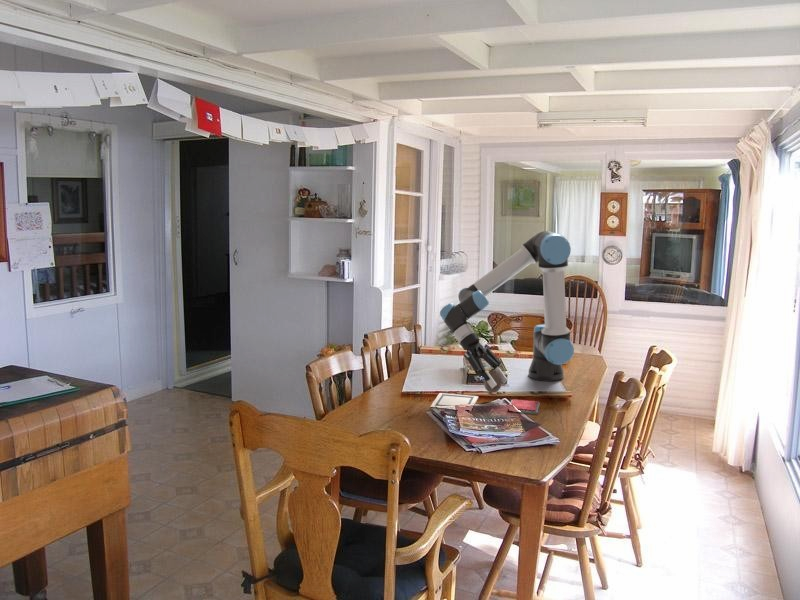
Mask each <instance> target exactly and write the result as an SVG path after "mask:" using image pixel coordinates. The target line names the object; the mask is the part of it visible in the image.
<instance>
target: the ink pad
mask: <svg viewBox="0 0 800 600" xmlns="http://www.w3.org/2000/svg"><path fill="white" fill-rule="evenodd" d="M510 403H511V404H512V405H514V406H515V407H516V408H517V409H518V410H520V411H521V412H523V413H522V414H528V415H529V414H530V415H538V414H539V413H538V412H539V409H540V404H541V403H540V401H535V400H526V399H516V398H515V399H511V400H510Z"/></svg>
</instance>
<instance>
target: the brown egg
mask: <svg viewBox="0 0 800 600" xmlns="http://www.w3.org/2000/svg"><path fill="white" fill-rule="evenodd" d="M488 372H489V374H490V375H491V377H492V378H493V379H494V381H495V382H496V384H497V385H496V386H495V387H494V388H491V387H490V385H489V384H488V382H487V381H486V380H485V379H484V378H483V385H484V388H485V390H486V391H487V392H488V393H497V392H498V391H499V390H501V387H502V382H501V377H500V375H499V374H498V373H497V372H496V370H495V369H494V368H490V369H489V371H488Z"/></svg>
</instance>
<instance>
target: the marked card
mask: <svg viewBox="0 0 800 600" xmlns="http://www.w3.org/2000/svg"><path fill="white" fill-rule="evenodd" d="M478 399H479V396H477V395H470V394H469V395H467V394H458V393H457V394H456V393H447V392H445V393H444V392H439V394H438V395H437V396H436V398H435V399H434V400H433V401H432V404H431V405H430V406H429V408H430V407H435V406H450V405H460V404H475V405H476V403H477V402H478Z"/></svg>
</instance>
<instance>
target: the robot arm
mask: <svg viewBox="0 0 800 600" xmlns="http://www.w3.org/2000/svg"><path fill="white" fill-rule="evenodd" d="M571 251H572V250H571V245H570V242H569V240H568V239H567V238H566V237H565V236H564V235H562V234H560V233H556V232H554V231H552V230H542V231H539V232H538V233H536V234H535V235H533V236H532V237H531V238H530V239H528V240H527V241H526V242H524V243H523V244H521V245H520V249H519V250H517V251H516V252H515V253H513V254H512V255H511V256H509V257H508V258H507V259H505V260H504V261H503V262H501V263H499V264H498V265H497V266H495V268H493V269H491V270H490V271H489V272H488V273H486V274H484V275H483V276H482V277H481V278H479V279H478V280H477V281H475V282H474V283H473V284H471V285H470V286H468V287H463V288H462V289H461V290H460V291H459V292H458V301H459V303H458V304H455V303H453V302H451V303H448V304H446V305H444V306H443V307H442V308H441V309H440V311H439V316H440V317H441V319H442V320H443V322H444V323H445V325H446V326H447V328H448V329H449V331H450V332H451V333H452V335H453V336H454V337H455V339H456V340H457V342H459V344H460V346H461V347H462V349H463V350H464V351H466V352H465V353H464V354H463V357H464V358H465V359H466V360H467V362H468V363H469V364H470V367H471V368H472V369H473V371H474V373H475V375H477V376H479V377H481V376H482V378H483V380H484V379H485V380H486V381H487V382H488V384H489V385H490V387H491V388H494V387H495V386H496V385H497V384H496V382H495V381H494V379H493V378H492V377H491V375H490V374H489V371H488V370H486V368H485V366H484V364H483V362H482V359H483V360H484V361H485V362H486V363H487V364H488V365H489V366H491V368H492V369H495V370H496V372H497V373H498V374H499V375H500V377H501V384H506V382H507V381H509V379H508V377H507V376H506V374H505V373H504V371H503V370H502V369H501V364H502V363H501V361H500V359H498V357H497V356H496V355H495V353H493V351H492V350H491V349H490V347H489V345H488V343H487V344H485V345H482V343H480V338H479V337H478V335H477V334H476V333H475V332H474V329H473V327H472V326H471V325H470V324H469V322H467V321H468V320H469V319H471V318H472V317H474V316H476V315H477V314H479V313H480V312H481V311H482V310H484V309H485V308H486V307H487V306H489V300H488V299H487V296H489V294H491V293H492V292H493V291H495V290H497V289H498V288H499V287H501V286H502V285H504V284H505V283H506V282H508V281H509V280H511V279H512V278H513V277H514V276H516V275H518V274H519V273H520V272H522V271H523V270H525V268H527V267H529V265H531V264H533V265H534V264H536V263H538V268H539V269H540V270H541V271H542V286H543V287H542V288H543V292H542V293H543V310H544V311H543V314H544V323H543V324H536V325H535V326H534V327H533V332H532V333H533V350H532V351H533V353H532V360H531V363H530V366H529V368H528V376H529V377H530V378H531V379H534V380H538V381H544V382H555V381H559V380H562V379H563V378H564V375H565V372H564V368H563V365H564V364H567V363H569V362H570V360H572V358H573V356H574V353H575V348H574V344H573V343H572V341H571V330H570V329H569V328H568V327H567V316H566V315H567V314H566V313H567V312H566V289H565V288H566V287H565V285H566V284H565V283H566V281H565V269H566V268H567V267H568V266H569V263H568V262H569V261H568V259H569V257H570V255H571Z"/></svg>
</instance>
